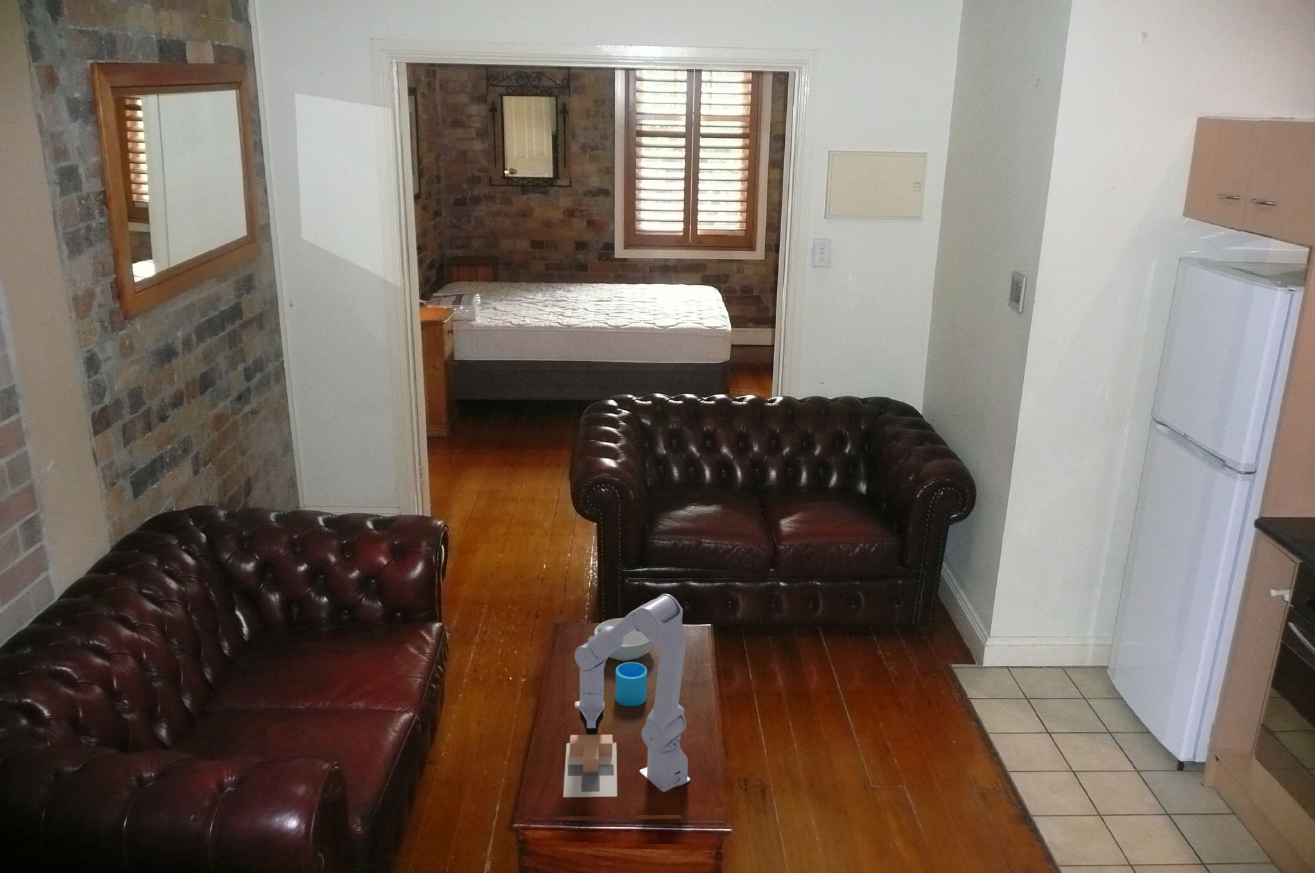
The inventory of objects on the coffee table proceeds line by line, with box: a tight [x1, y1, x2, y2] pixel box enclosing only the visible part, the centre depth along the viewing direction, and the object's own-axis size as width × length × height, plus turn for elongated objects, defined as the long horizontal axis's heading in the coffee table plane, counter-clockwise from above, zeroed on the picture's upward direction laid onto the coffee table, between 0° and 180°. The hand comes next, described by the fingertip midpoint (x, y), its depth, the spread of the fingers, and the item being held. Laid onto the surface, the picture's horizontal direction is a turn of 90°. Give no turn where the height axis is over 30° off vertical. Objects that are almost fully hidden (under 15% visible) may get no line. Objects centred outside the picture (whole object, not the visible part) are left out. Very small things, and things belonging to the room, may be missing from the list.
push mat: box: [563, 742, 618, 798], centre depth 238 cm, size 20×12×1 cm, turn 3°
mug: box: [615, 661, 648, 707], centre depth 268 cm, size 12×8×8 cm
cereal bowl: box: [593, 617, 654, 662], centre depth 287 cm, size 17×17×7 cm
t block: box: [569, 734, 613, 772], centre depth 241 cm, size 10×10×4 cm
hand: (591, 736), depth 249 cm, fingers closed
